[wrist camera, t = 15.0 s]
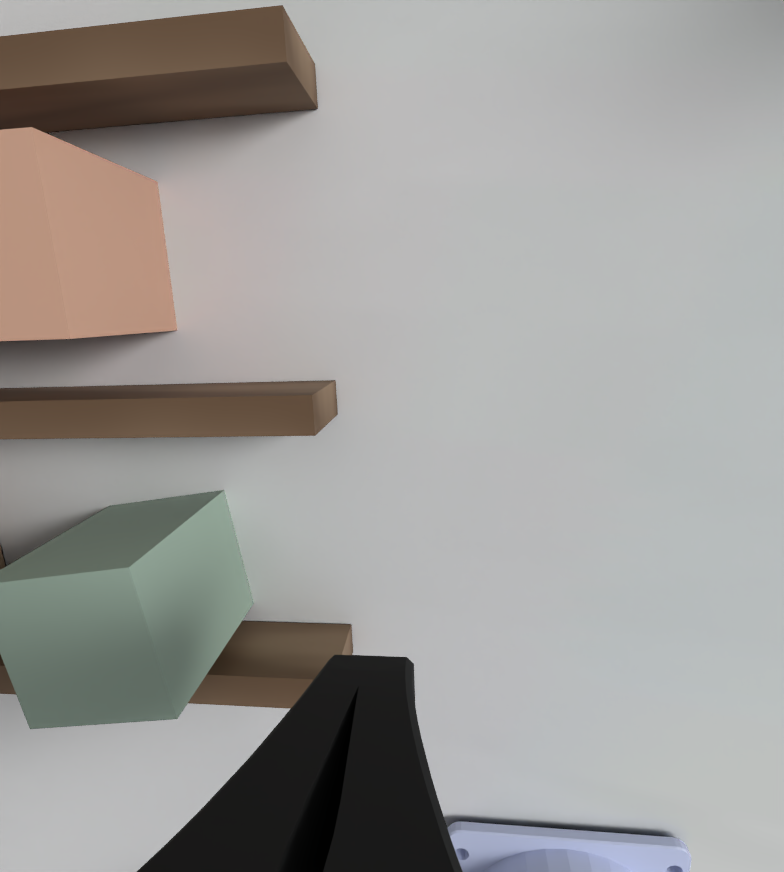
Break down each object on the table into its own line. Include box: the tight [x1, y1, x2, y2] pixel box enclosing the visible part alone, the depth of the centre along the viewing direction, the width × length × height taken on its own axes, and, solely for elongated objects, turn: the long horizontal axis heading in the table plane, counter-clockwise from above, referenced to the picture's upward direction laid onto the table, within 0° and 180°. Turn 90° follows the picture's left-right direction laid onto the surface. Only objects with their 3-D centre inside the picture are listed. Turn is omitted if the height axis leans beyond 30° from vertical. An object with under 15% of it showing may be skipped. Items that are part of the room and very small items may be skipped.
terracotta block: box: [0, 127, 177, 341], centre depth 13 cm, size 4×6×4 cm, turn 92°
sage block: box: [0, 490, 254, 729], centre depth 14 cm, size 4×4×5 cm
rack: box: [0, 5, 353, 708], centre depth 14 cm, size 17×13×3 cm
